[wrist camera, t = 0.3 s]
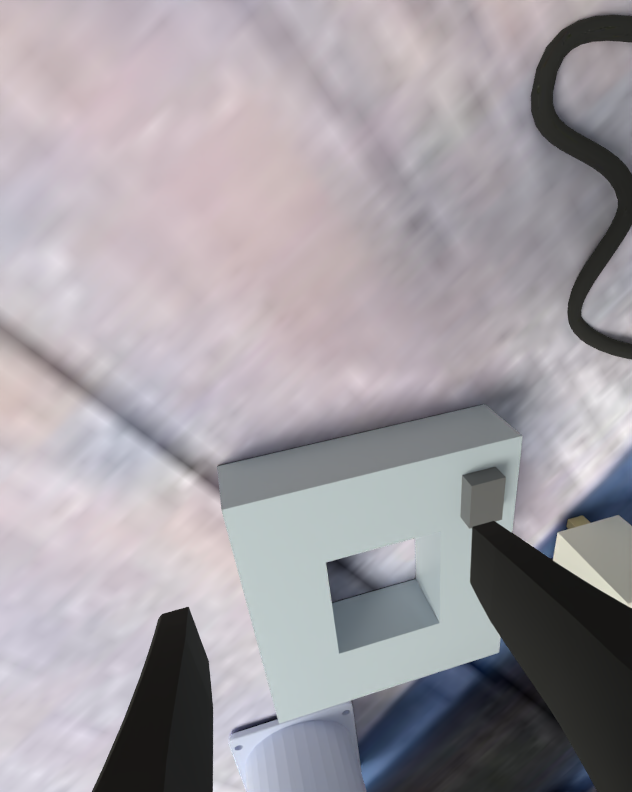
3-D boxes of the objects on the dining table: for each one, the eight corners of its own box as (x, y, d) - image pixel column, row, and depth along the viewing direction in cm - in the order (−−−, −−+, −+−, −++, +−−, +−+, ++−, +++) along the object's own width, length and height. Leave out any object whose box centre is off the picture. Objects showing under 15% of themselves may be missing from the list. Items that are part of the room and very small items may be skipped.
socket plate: (472, 609, 30) (506, 665, 27) (270, 671, 28) (281, 739, 25) (484, 404, 23) (534, 445, 20) (217, 466, 21) (222, 523, 18)
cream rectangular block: (592, 562, 31) (673, 645, 26) (537, 579, 31) (609, 667, 25) (605, 504, 29) (698, 581, 24) (546, 520, 28) (627, 603, 23)
